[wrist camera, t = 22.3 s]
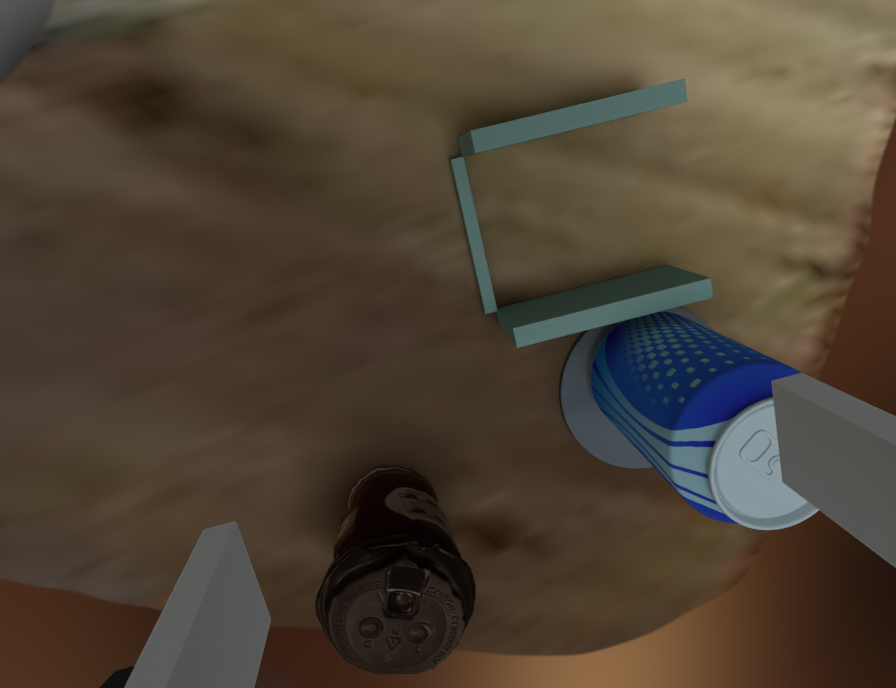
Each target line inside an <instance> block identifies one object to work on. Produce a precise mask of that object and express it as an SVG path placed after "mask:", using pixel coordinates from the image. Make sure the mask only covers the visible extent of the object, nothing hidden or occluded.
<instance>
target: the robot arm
mask: <svg viewBox="0 0 896 688" xmlns="http://www.w3.org/2000/svg"><path fill="white" fill-rule="evenodd" d="M771 384H772V393H773V402H774V411H775V420H776V429H777V438H778V447H779V456H780V465H781V474H782V482H783V483H784V484H785V485H787V486H788V487H789V488H791V489H792V490H793V491H795V492H796V493H797V494H799V495H800V496H801V497H803V498H804V499H805V500H807V501H808V502H809V503H811V504H812V505H813V506H815V507H816V508H817V509H819V510H820V511H821V512H823V513H824V514H825V515H826V516H828V517H829V518H831V519H832V520H833V521H834V522H836V523H837V524H838V525H840V526H841V527H842V528H844V529H845V530H847V531H848V532H849V533H850V534H852V535H853V536H854V537H856V538H857V539H858V540H860V541H861V542H862V543H864V544H865V545H866V546H867V547H869V548H870V549H871V550H873V551H874V552H876V553H877V554H878V555H879V556H881V557H882V558H883V559H885V560H886V561H887V562H889V563H890V564H891V565H893V566H894V567H895V568H896V416H894V415H891V414H889V413H887V412H885V411H882V410H881V409H878V408H876V407H874V406H872V405H870V404H868V403H865V402H863V401H861V400H859V399H857V398H855V397H852V396H850V395H848V394H846V393H844V392H842V391H840V390H837V389H835V388H833V387H831V386H829V385H826V384H824V383H822V382H820V381H818V380H816V379H814V378H811V377H809V376H807V375H805V374H803V373H799V374H795V375H791V376H787V377H784V378H780V379H776V380H772V381H771ZM270 622H271V618H270V615H269V612H268V609H267V607H266V604H265V601H264V598H263V595H262V593H261V590H260V587H259V584H258V581H257V579H256V576H255V573H254V570H253V568H252V565H251V562H250V559H249V556H248V554H247V551H246V548H245V545H244V542H243V540H242V537H241V534H240V531H239V529H238V526H237V523H236V521H234V522H230V523H226V524H222V525H219V526H215V527H211V528H207V529H203V531H202V533H201V535H200V537H199V539H198V541H197V543H196V545H195V547H194V549H193V551H192V553H191V555H190V557H189V559H188V561H187V563H186V565H185V567H184V569H183V571H182V573H181V575H180V577H179V579H178V581H177V583H176V585H175V587H174V589H173V591H172V593H171V595H170V597H169V599H168V601H167V603H166V605H165V607H164V609H163V611H162V613H161V615H160V617H159V619H158V621H157V623H156V625H155V627H154V629H153V631H152V633H151V635H150V637H149V639H148V641H147V643H146V645H145V647H144V649H143V651H142V653H141V655H140V657H139V659H138V661H137V663H136V665H135V666H132V667H129V668H125V669H121V670H117V671H115V672H114V673H113V674H112V675H111V676H110V677H109V678H108V679H107V680H106V681H105V683H104V684H103V685H102V686H101V687H100V688H254V687H255V683H256V678H257V674H258V670H259V666H260V662H261V658H262V654H263V650H264V646H265V641H266V638H267V634H268V630H269V626H270Z"/></svg>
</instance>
